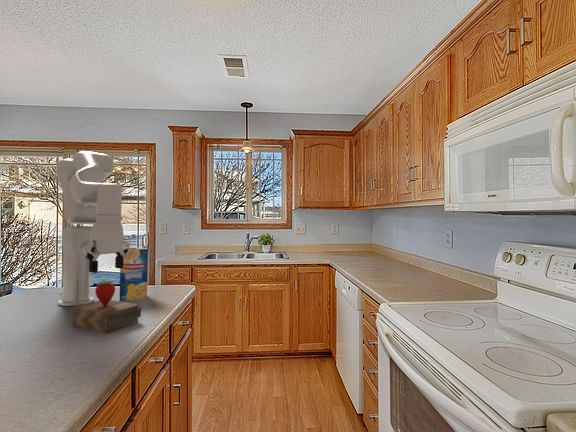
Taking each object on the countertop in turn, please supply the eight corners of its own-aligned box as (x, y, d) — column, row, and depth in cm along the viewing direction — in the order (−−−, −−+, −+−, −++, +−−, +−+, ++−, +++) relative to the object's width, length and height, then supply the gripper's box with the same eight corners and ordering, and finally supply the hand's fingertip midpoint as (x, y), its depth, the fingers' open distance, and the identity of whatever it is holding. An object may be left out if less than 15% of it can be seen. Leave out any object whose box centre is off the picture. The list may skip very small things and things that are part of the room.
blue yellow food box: (147, 298, 144) (148, 248, 144) (119, 301, 139) (120, 249, 139) (146, 295, 150) (147, 247, 150) (119, 297, 145) (120, 248, 145)
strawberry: (115, 301, 114) (114, 273, 114) (115, 307, 108) (115, 277, 108) (96, 304, 112) (95, 275, 112) (95, 310, 105) (94, 279, 105)
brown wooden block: (72, 325, 107) (73, 307, 107) (105, 315, 118) (105, 299, 118) (109, 333, 101) (109, 314, 101) (140, 322, 112) (141, 305, 112)
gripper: (122, 219, 119) (120, 265, 120) (75, 219, 104) (74, 273, 104) (137, 220, 117) (135, 267, 117) (92, 220, 101) (90, 275, 101)
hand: (106, 270), depth 110 cm, fingers open, 9 cm apart
